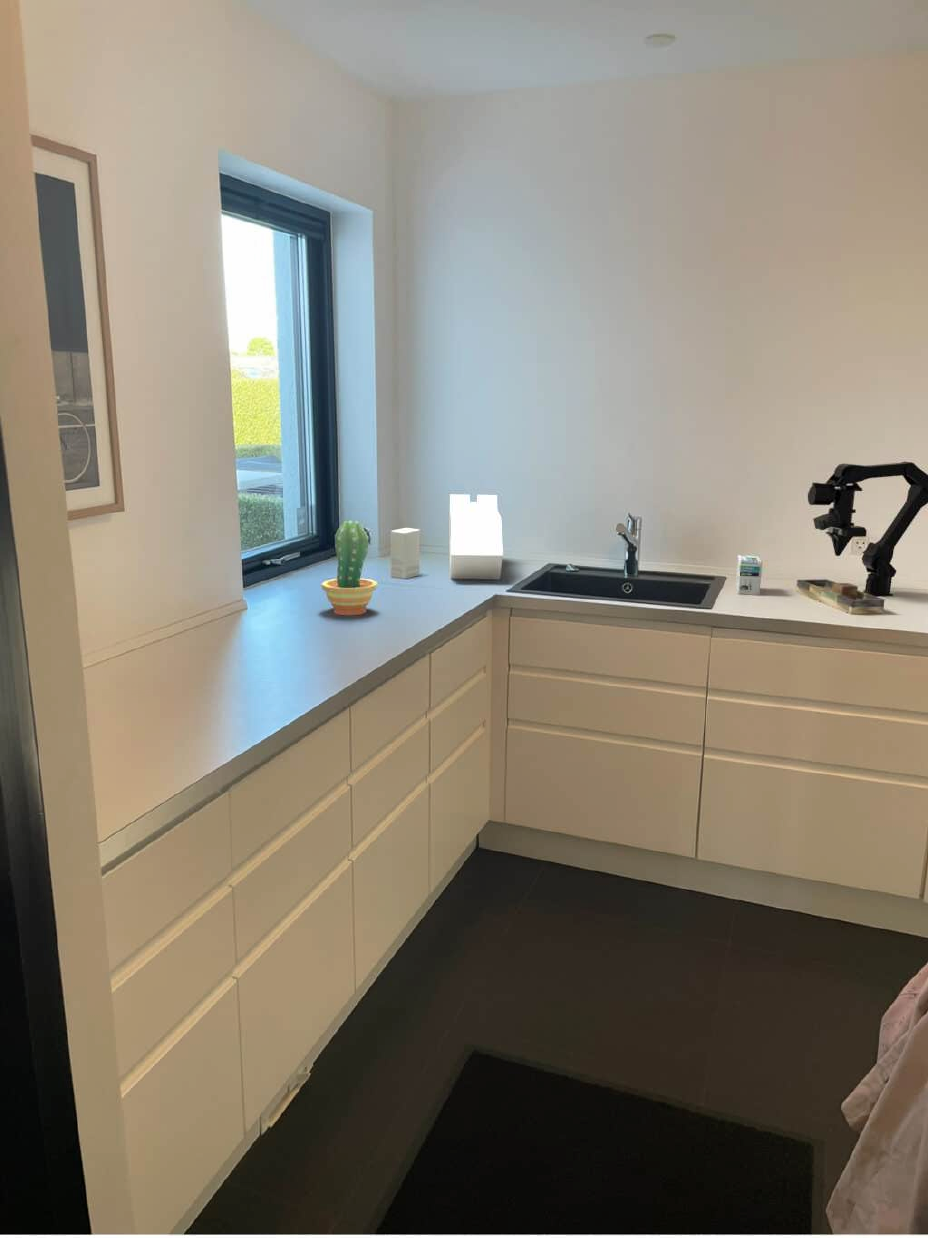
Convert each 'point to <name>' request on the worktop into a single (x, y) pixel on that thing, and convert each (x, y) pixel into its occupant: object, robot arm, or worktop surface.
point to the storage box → (475, 538)
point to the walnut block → (845, 590)
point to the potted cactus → (350, 571)
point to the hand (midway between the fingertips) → (837, 555)
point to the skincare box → (405, 553)
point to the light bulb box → (748, 575)
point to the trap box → (840, 597)
